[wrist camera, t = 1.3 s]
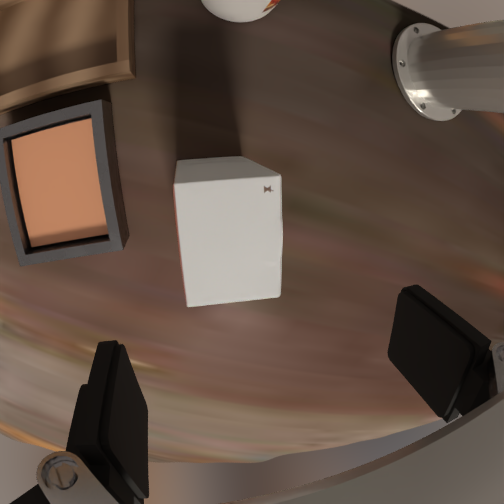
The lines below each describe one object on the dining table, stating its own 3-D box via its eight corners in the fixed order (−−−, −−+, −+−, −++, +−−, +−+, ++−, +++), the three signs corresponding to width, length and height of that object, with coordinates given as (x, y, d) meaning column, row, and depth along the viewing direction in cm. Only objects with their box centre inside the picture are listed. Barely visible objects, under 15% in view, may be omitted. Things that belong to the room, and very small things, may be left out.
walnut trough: (134, -34, 20) (130, -52, 17) (136, 78, 25) (129, 70, 22) (-4, 10, 18) (-21, 0, 14) (-7, 117, 22) (-27, 118, 19)
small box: (175, 159, 29) (171, 180, 17) (242, 154, 30) (284, 172, 18) (182, 241, 32) (185, 310, 20) (245, 235, 33) (283, 298, 21)
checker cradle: (111, 103, 26) (101, 99, 22) (129, 235, 30) (123, 249, 27) (12, 129, 24) (-7, 130, 20) (35, 251, 29) (20, 266, 25)
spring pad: (94, 118, 24) (91, 118, 23) (110, 230, 28) (108, 233, 27) (16, 139, 23) (11, 140, 22) (35, 243, 27) (31, 247, 26)
